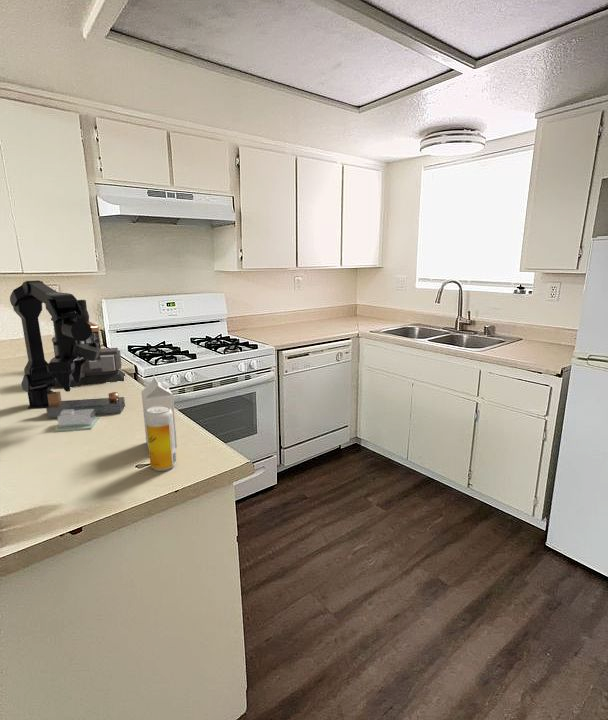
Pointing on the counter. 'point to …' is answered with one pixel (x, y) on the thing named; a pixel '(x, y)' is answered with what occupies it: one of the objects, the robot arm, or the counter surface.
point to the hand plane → (85, 404)
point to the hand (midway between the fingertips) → (73, 386)
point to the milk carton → (157, 400)
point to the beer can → (161, 437)
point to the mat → (76, 427)
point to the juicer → (97, 368)
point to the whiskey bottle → (95, 328)
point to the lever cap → (76, 417)
